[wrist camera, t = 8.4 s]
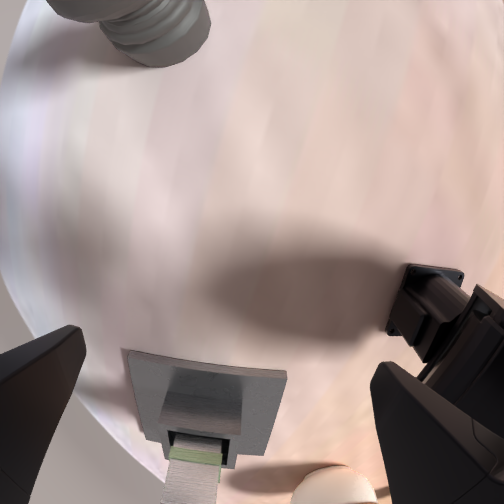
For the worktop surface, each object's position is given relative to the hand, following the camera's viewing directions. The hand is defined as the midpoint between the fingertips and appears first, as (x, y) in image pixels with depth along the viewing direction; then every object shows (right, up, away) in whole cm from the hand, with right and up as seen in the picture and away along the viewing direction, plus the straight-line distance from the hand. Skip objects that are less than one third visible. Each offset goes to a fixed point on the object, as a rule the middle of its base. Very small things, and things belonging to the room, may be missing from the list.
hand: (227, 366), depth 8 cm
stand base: (-4, -13, +19) cm, 23 cm away
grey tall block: (-4, -15, +14) cm, 21 cm away
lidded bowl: (+12, -30, +25) cm, 41 cm away
